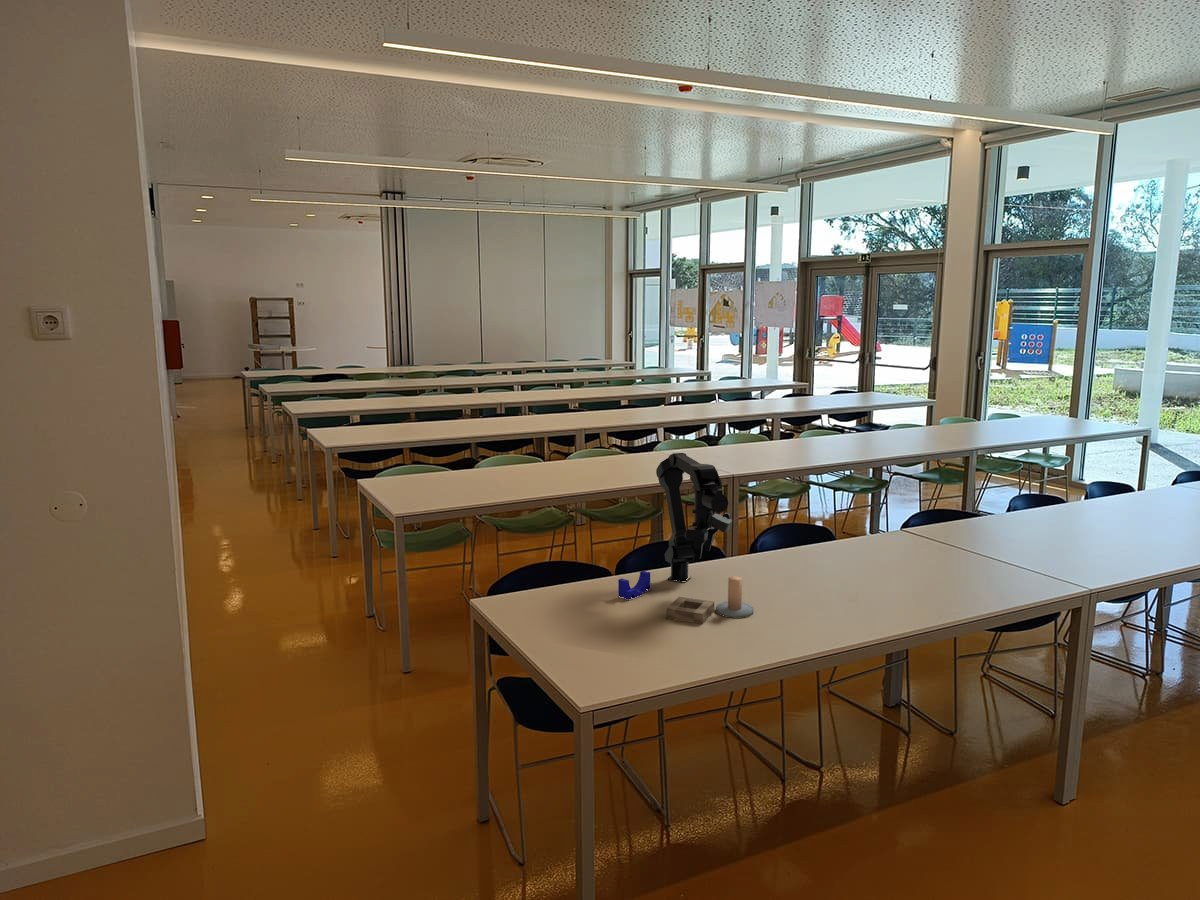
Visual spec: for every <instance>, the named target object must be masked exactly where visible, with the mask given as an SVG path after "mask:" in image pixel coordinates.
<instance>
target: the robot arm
mask: <svg viewBox="0 0 1200 900" xmlns="http://www.w3.org/2000/svg"><path fill="white" fill-rule="evenodd" d="M684 473H685V474H686V475H689V480H690V481H691V482H692V483H693V485H692V490H694V508H693V509H692V512H691V513H692V514H694V519H693V520H694V521H693V522H692V523H691V524H692V526H689V528H687V525H686V524H687V523H686V518H685V513H684V507H683V500H682V493H681V488H680V487H681V486H682V483H683V480H684V476H683V475H684ZM655 475H656V477H657V479H658V482H659V485H660V486H661V487H662V488H663V489H664V492H665V497H666V502H667V508H668V509H667V510H668V515H669V521H670V529H671V535H670V538H669V540H668V548H667V550H666V551H665V553H664V560H665V562H667V563H668V564H670V576H669V577H668V578H667V579H668V580H667V581H670V580H677V581H687V580H686V579H687V578H688V575H689V562H694V561H695V557H696V560H697V559H698V560H701V558H702V553H703V547H704V548H705V551H706V552H710V551H711V547H712V544H713V540H714V537H715V534H716V533H717V532H718V531H720V532H721V533H727V532H728V531H729V530H730V527H731V525H732V524H733V518H732V516H731V514H730V513H728V512H725V511H726V510H727V508H728V505H729V500H728V498H727V496H726V495H725V494H723V490H722V489H723V485H722V483H723V482H722V480H721V478H720V476H719V473H718V469H716V466H715V465H712V464H707V463H701V462H699V461H697V460H695V459H693V458H691V457H690V456H689V455H687V454H686V453H685V452H675V453H671V454H669V456H668V457H667V458H665V459H664V460H662V461H661V462H660V463H659V464H658V466H657V467H656V471H655ZM723 512H724V514H721V513H723ZM677 581H676V582H677ZM687 582H688V581H687Z"/></svg>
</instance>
